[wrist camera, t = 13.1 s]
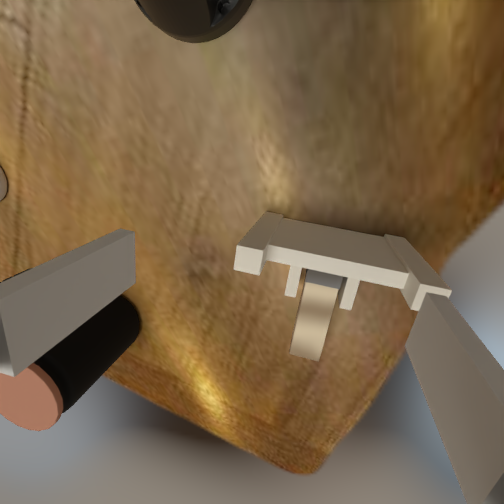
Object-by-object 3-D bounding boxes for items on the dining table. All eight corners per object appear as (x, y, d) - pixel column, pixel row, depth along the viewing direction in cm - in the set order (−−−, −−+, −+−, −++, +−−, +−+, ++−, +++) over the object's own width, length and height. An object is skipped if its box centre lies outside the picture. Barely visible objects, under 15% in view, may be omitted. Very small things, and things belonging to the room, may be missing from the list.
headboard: (256, 271, 44) (225, 330, 30) (265, 211, 41) (236, 245, 27) (383, 300, 41) (414, 378, 27) (404, 237, 38) (452, 290, 24)
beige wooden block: (319, 339, 45) (319, 362, 40) (291, 332, 46) (288, 354, 41) (343, 252, 40) (345, 266, 35) (311, 245, 41) (310, 259, 36)
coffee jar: (77, 294, 52) (-36, 363, 36) (128, 284, 49) (30, 354, 33) (102, 346, 55) (8, 433, 39) (151, 339, 52) (72, 430, 36)
